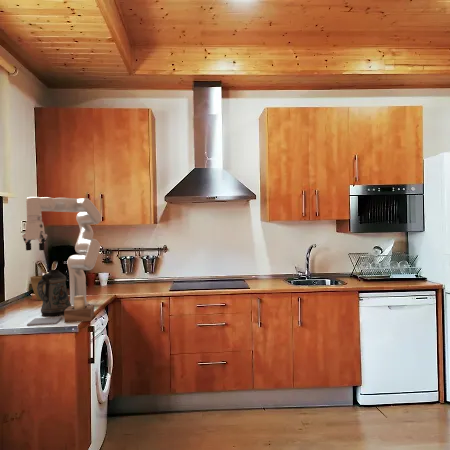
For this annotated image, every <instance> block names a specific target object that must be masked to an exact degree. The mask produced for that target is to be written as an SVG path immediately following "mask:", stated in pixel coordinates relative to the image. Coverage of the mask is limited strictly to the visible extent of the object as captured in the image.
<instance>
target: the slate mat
mask: <svg viewBox="0 0 450 450" xmlns="http://www.w3.org/2000/svg"><path fill="white" fill-rule="evenodd" d="M62 319H63V317H62V316H56V317H35V318H33V319H32V320H30V321H29V322H28V323H27V324H26V326H28V327H29V326H43V325H44V326H47V325H57V324H58V323H59V322H60V321H61V320H62Z"/></svg>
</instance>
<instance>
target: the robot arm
mask: <svg viewBox="0 0 450 450" xmlns="http://www.w3.org/2000/svg"><path fill="white" fill-rule="evenodd" d="M25 202H26V206H25V207H26V223H25V233H24V234H22V235H21V236H22V239H23V242H24V243H25V251H32V241H34V240H35V241H37V240H38V242H39V243H38V250H39V251H45V243H46V241H47V239H48V236H49V235H48V234H47V233H45V226H44V221H43V217H42V215H43V214H42V212H55V213H57V212H59V213H60V212H61V213H77V214H76V217H75V218H76V222H77V224H78V227H79V233H78V237H77V239H76V243H75V244H74V245H75V246H74V250H75V252H76V253H77V254H72V255H70V256H69V257H68V259H67V262H66V263H67V268H68V275H69V301H70V303H71V305H72V306H74V296H84V299H85V305H90V303H89V302H88V301H87V284H86V283H87V281H86V280H87V279H86V274H85V271H91V270H93V269H94V268H95V266H96V263H97V260H98V258H99V254H100V250H101V243H100V241H99V240H98V239H96V238H94V230H93V228H92V226H91V225H99V224H100V223H101V221H102V214H101V212H100V210H99V209H98V208H97V206H96V205H95V204H94V203H93V202H92V200H91V199H89V198H87V197H84V198H79V197H78V198H73V197H72V198H71V197H55V198H54V197H50V196H49V197H48V196H44V197H43V196H42V197H39V196H29V197H26V201H25Z"/></svg>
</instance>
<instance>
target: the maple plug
mask: <svg viewBox="0 0 450 450" xmlns="http://www.w3.org/2000/svg"><path fill="white" fill-rule="evenodd" d="M74 309H85V299H84V296H74Z"/></svg>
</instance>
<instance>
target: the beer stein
mask: <svg viewBox="0 0 450 450" xmlns="http://www.w3.org/2000/svg"><path fill="white" fill-rule="evenodd" d="M66 281H67V276H66V275H65V274H63V273H62V272H61V271H60V270H59V269H49V270H48V272H47V273H45V274H43V276H42V280H40V281H39V282H38V285H37V293H38V295H39V297H40V298H41V299H42V300H41V301H42V306H41V308H40V313H41V317H44V318H49V317H62V316H64V310H66V309H67V308H68V307H69V306H72V305H71V303H70V296H69V293H68V290H67V285H66ZM44 284H45V286H44ZM43 286H44V292H43Z"/></svg>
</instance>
